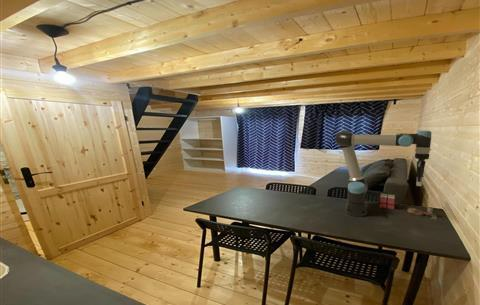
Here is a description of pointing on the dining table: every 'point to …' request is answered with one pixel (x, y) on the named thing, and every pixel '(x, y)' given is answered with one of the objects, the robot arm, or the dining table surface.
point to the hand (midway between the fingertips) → (418, 185)
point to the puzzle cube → (387, 201)
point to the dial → (419, 211)
